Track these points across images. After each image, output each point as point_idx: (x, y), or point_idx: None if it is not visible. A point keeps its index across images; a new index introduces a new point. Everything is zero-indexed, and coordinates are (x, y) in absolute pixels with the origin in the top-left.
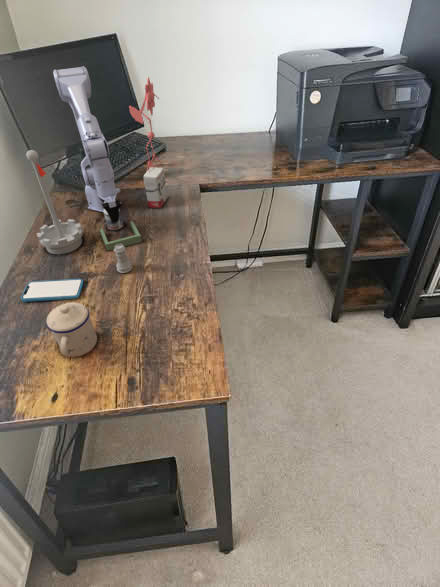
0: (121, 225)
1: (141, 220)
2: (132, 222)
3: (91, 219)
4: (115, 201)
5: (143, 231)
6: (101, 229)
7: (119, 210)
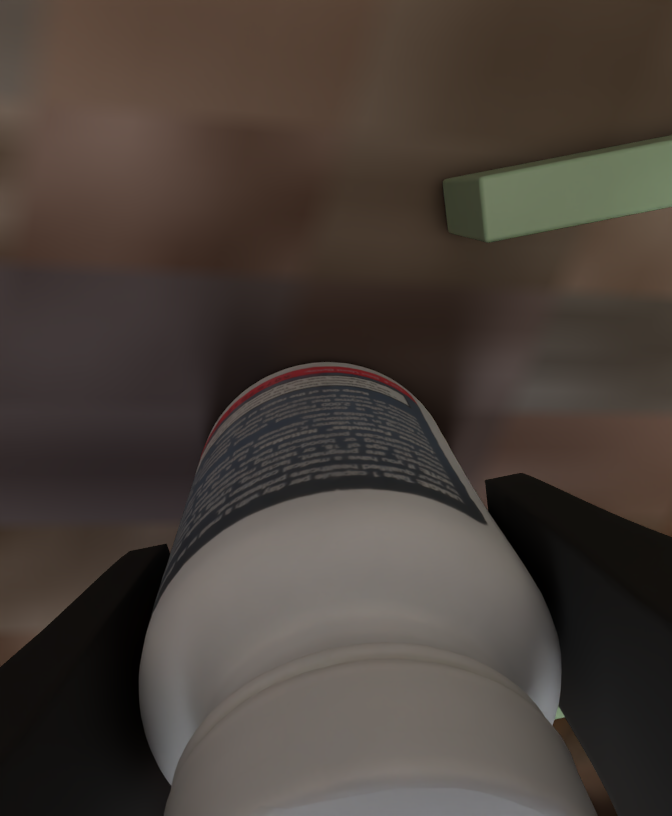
0: (409, 396)
1: (234, 2)
2: (546, 187)
3: None
4: (378, 778)
5: (653, 9)
6: None
7: (416, 501)
